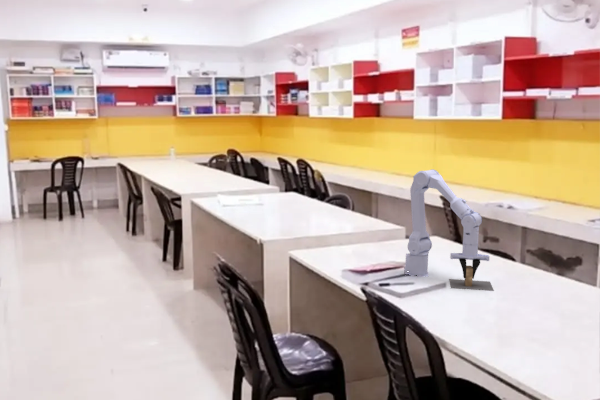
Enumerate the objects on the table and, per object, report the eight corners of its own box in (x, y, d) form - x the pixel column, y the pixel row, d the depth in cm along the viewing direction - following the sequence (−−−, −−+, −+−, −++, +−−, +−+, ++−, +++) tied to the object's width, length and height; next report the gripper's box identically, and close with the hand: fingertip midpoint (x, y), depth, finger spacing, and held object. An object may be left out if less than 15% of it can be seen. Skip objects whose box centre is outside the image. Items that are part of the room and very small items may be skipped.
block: (465, 286, 236) (466, 268, 235) (464, 282, 241) (465, 265, 240) (471, 286, 236) (472, 268, 235) (470, 282, 241) (471, 265, 240)
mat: (450, 289, 233) (450, 288, 233) (448, 279, 246) (448, 278, 246) (494, 291, 231) (494, 290, 231) (489, 282, 243) (489, 281, 243)
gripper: (451, 244, 233) (450, 279, 235) (491, 246, 231) (489, 281, 233) (450, 241, 240) (449, 274, 242) (488, 243, 238) (486, 276, 240)
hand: (468, 277), depth 238 cm, fingers closed on block, 2 cm apart
